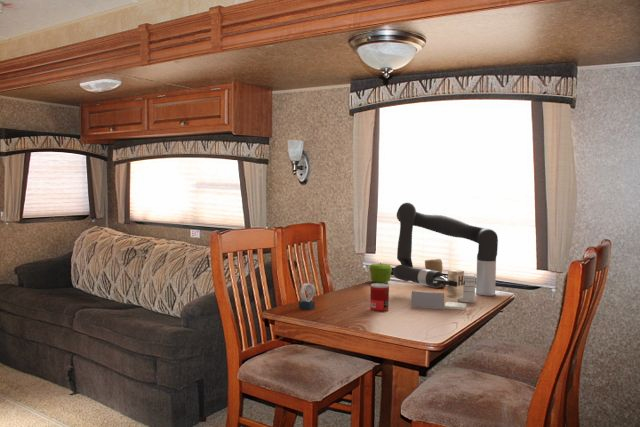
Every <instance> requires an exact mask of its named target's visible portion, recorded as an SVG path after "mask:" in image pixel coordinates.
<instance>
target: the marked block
mask: <svg viewBox="0 0 640 427" xmlns="http://www.w3.org/2000/svg"><path fill="white" fill-rule="evenodd" d="M464 273H465V271H463V270H459V269H450V270H447V277H448V280H450V281H455V282H457V287H454V286H446V287H447V290H446V291H447V293H446V297H447V298H449V299H453V300H459V298H463V288H464Z"/></svg>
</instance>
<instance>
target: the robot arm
mask: <svg viewBox="0 0 640 427" xmlns="http://www.w3.org/2000/svg"><path fill="white" fill-rule="evenodd" d="M396 219H397V221H398V222H399V237H398V242H397V249H396V250H397V251H396V252H397V254H396V257H397V258H396V259H397V261H399V262H400V264H398V265H395V267H394V268H392V274H393V276H394V277H395V278H396V279H398V280H401V281H403V282H412V283H415V284H420V285H424V286H428V287H431V288H434V287H438V288H440V287H439V286H442V287H448V286H454V287H457V282H455V281H450V280H448V275H443V273H442V274H441V272H439V271H433V270H427V269H426V268H424V269H423V268H417V267H414V265H413V260H412V252H413V251H412V250H413V247H412V245H413V242H412V241H413V228H414V226H415V227H417V228H418V227H419V228H421V229H422V228H423V229H425V230H428V231H432V232H435V233H438V234H442V235H445V236H448V237H453V238H460V239H464V240H465V239H466V240H468V241H472V242H474V243H476V244H478V247H477V248H478V250H477V254H476V277H475V295H479V296H495V295H496V276H497V275H496V274H497V273H496V272H497V256H498V249H499V248H498V247H499V246H498V245H499V238H498V237H499V236H498V234H497V232H496V231H495V230H494V229H491V228H486V227H481V226H480V227H479V226H476V225H475V226H474V225H470V224H468V223H466V222H463V221H461V220H459V219H456V218H453V217H449V216H447V215H442V214H441V215H440V214H427V213H426V214H425V213H421V212H419V211H417V210H416V206H415V205H414V204H413V203H410V202H404V203H402V204H401V205H400V206H399V207H398V210H397V212H396ZM464 285H465V281H464Z"/></svg>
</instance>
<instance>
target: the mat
mask: <svg viewBox="0 0 640 427" xmlns="http://www.w3.org/2000/svg"><path fill="white" fill-rule="evenodd" d="M466 308H467V302H453V301H445V302H444V309H448V310H449V309H452V310H462V311H465V310H466Z"/></svg>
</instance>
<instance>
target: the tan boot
mask: <svg viewBox="0 0 640 427" xmlns="http://www.w3.org/2000/svg"><path fill="white" fill-rule="evenodd" d="M424 269H427V270H433V271H439V272H441V274H442V275H443V269H444V267H443V260H442V259H441V258H435V259H434V258H433V259H432V258H431V259H425V260H424ZM441 287H443V286H439V287H433V288H434V289H437V288H441Z"/></svg>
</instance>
